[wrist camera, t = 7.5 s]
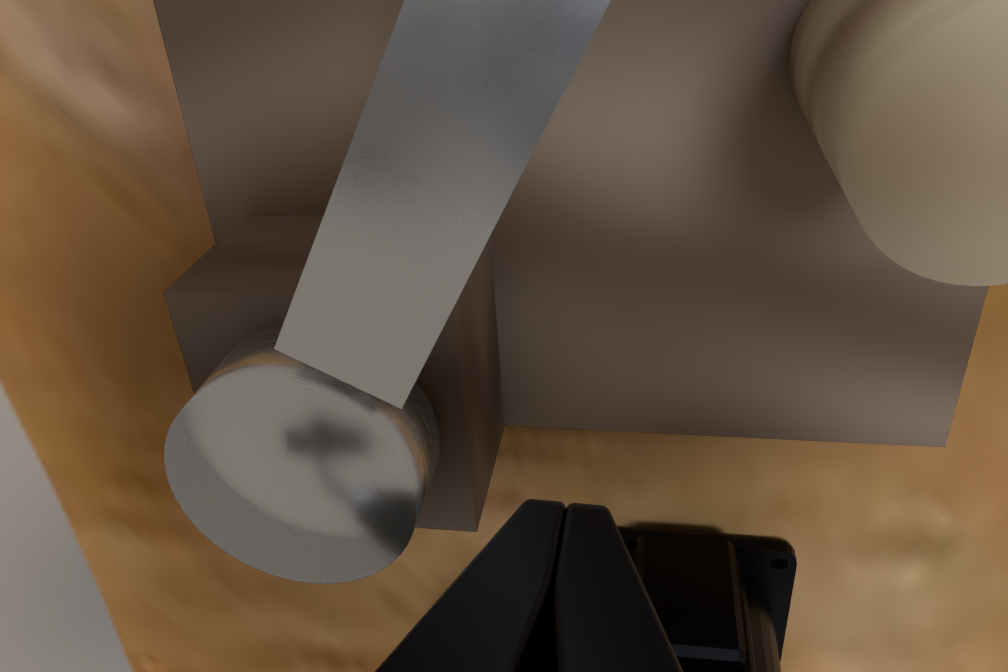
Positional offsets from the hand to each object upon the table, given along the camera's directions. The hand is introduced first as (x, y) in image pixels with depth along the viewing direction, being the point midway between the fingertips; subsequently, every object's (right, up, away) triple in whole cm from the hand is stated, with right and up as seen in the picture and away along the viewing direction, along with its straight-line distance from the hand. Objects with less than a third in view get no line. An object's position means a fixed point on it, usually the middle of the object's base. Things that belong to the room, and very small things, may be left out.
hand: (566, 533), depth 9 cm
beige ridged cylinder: (+7, +8, +7) cm, 13 cm away
